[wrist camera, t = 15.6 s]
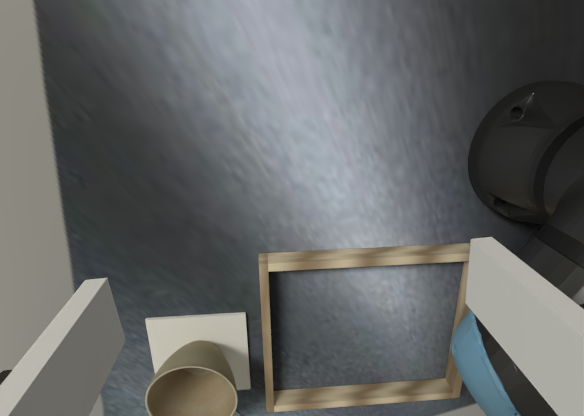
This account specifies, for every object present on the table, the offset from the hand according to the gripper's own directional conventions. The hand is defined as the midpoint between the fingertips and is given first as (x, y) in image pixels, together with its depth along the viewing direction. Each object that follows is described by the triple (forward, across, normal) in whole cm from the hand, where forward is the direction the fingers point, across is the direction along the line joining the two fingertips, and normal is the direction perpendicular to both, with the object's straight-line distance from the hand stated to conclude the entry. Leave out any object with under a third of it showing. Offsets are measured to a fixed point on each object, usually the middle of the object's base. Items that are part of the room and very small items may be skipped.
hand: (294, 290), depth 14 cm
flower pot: (+28, -12, -26) cm, 41 cm away
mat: (+29, -12, -26) cm, 41 cm away
